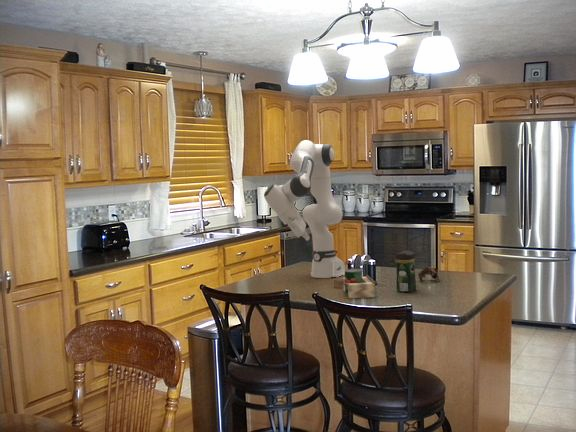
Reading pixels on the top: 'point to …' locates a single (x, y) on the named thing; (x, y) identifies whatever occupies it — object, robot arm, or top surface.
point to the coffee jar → (405, 271)
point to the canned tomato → (352, 277)
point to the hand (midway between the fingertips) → (308, 239)
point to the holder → (361, 288)
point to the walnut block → (338, 283)
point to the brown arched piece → (429, 273)
